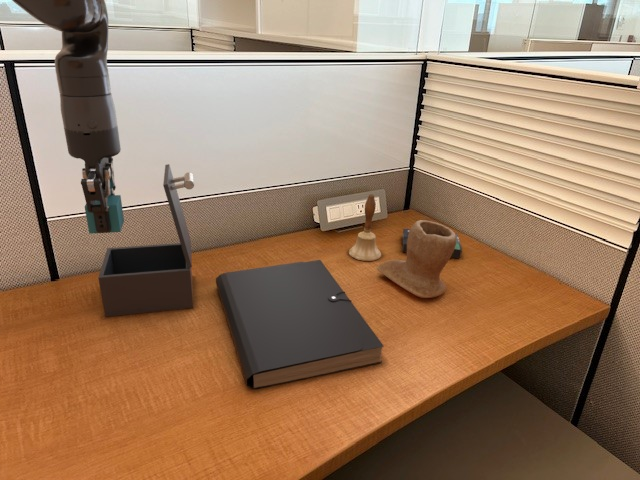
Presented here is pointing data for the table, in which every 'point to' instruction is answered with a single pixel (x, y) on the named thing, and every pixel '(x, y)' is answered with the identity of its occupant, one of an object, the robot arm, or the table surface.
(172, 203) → the bin lid
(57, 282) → the table surface
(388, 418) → the table surface
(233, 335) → the dark grey notebook
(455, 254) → the disk drive
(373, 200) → the hand bell
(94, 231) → the block
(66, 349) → the table surface
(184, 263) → the bin
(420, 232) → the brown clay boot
